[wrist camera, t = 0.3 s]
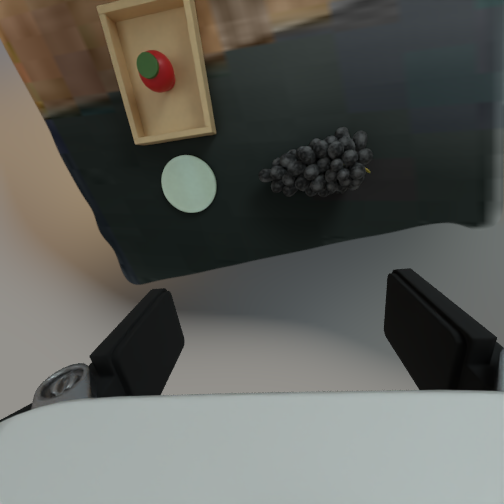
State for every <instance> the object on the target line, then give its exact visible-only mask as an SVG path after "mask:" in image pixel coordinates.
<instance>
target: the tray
mask: <svg viewBox="0 0 504 504" xmlns="http://www.w3.org/2000/svg"><path fill="white" fill-rule="evenodd" d="M96 7H97V10H98V14H99V17H100V21H101V24H102V28H103V31H104V35H105V38H106V42H107V46H108V49H109V53H110V56H111V60H112V63H113V67H114V71H115V74H116V78H117V81H118V85H119V88H120V92H121V95H122V99H123V103H124V106H125V110H126V113H127V117H128V120H129V124H130V128H131V131H132V135H133V138H134V142H135V145H151V144H157V143H164V142H170V141H176V140H182V139H189V138H195V137H201V136H208V135H214V134H216V128H215V122H214V116H213V110H212V104H211V98H210V92H209V86H208V80H207V74H206V68H205V62H204V56H203V50H202V44H201V38H200V32H199V26H198V20H197V14H196V8H195V2H194V0H120V1H116V2H112V3H108V4H103V5H99V6H96ZM148 50H156V51H159V52H161V53H162V54H164V55H165V56H166V57H167V58H168V59H169V61H170V62H171V64H172V66H173V69H174V74H175V85H174V87H173V88H172V89H171V90H169V91H166V92H163V93H158V92H154V91H152V90H150V89H149V88H147V87H146V86H145V84H144V83H143V82H142V80H141V78H140V76H139V73H138V69H137V64H136V62H137V58H138V56H139V55H140V54H141V53H142V52H146V51H148Z"/></svg>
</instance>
